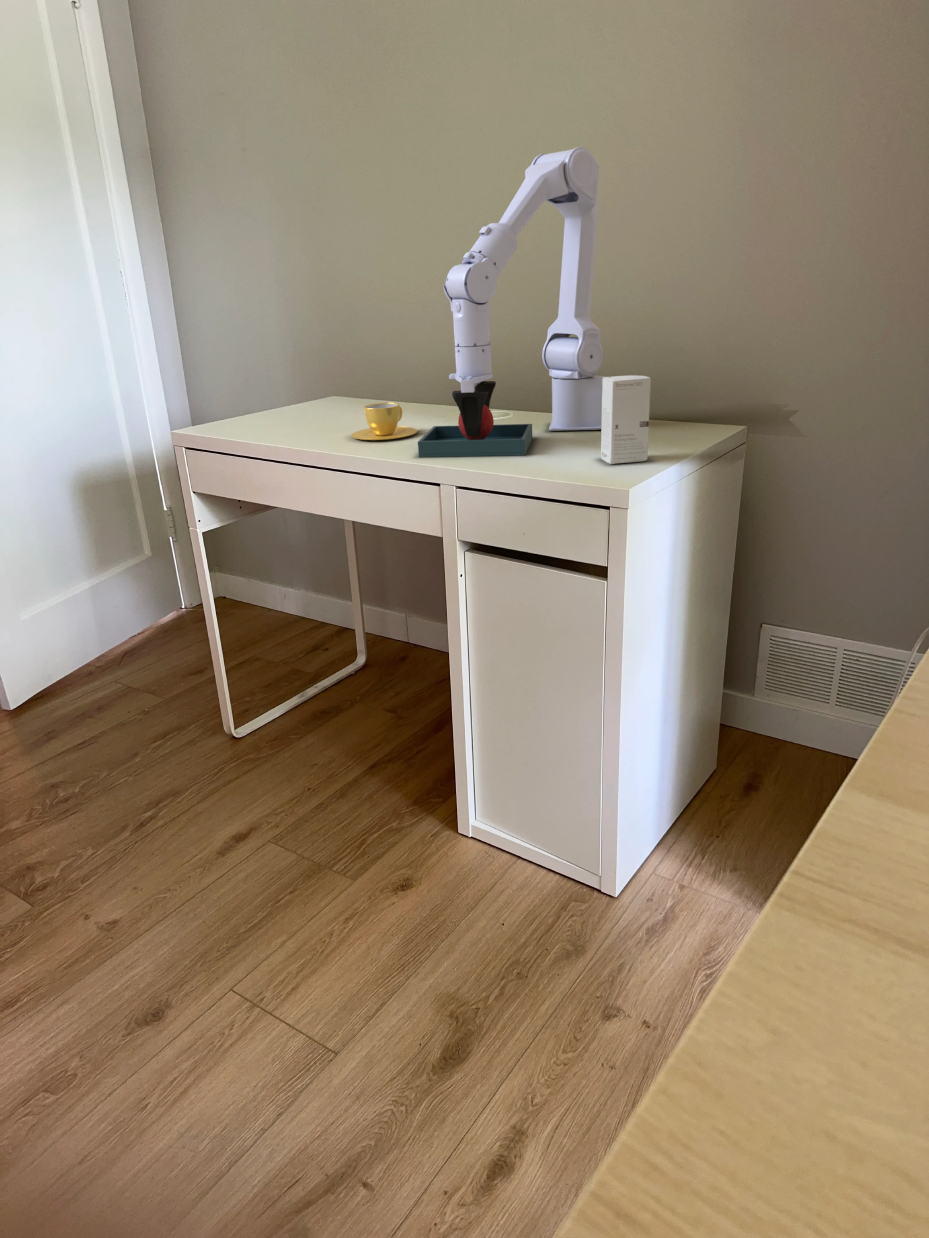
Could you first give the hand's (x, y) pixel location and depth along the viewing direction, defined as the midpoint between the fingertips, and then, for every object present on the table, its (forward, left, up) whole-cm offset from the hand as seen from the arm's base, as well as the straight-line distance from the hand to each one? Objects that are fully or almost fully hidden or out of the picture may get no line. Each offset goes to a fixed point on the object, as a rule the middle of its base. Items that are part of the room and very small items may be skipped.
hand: (476, 431), depth 141 cm
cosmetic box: (-24, +11, -3) cm, 27 cm away
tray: (0, 0, -3) cm, 3 cm away
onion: (0, 0, -2) cm, 2 cm away
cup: (+19, -12, -3) cm, 23 cm away
